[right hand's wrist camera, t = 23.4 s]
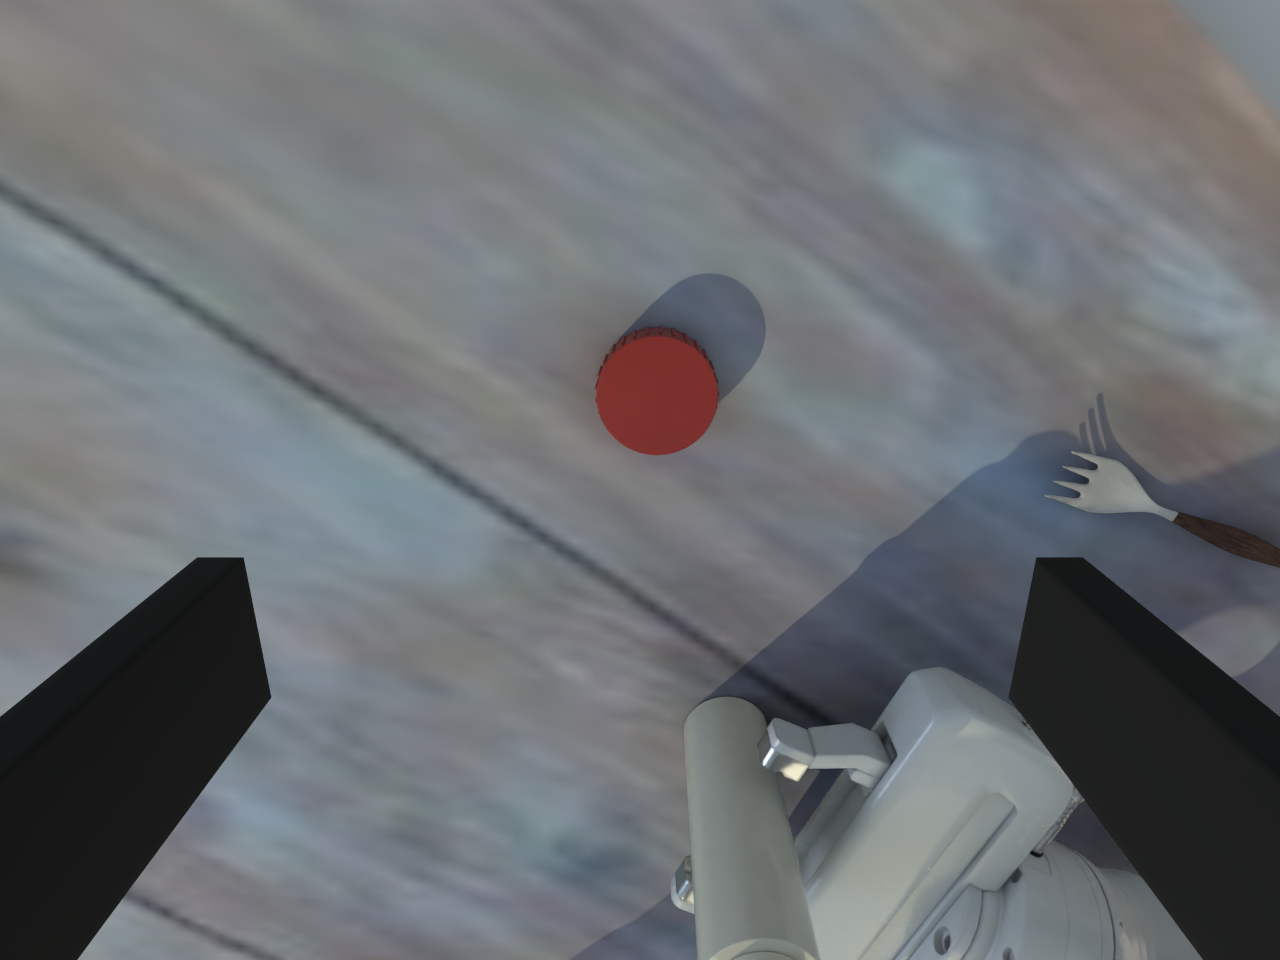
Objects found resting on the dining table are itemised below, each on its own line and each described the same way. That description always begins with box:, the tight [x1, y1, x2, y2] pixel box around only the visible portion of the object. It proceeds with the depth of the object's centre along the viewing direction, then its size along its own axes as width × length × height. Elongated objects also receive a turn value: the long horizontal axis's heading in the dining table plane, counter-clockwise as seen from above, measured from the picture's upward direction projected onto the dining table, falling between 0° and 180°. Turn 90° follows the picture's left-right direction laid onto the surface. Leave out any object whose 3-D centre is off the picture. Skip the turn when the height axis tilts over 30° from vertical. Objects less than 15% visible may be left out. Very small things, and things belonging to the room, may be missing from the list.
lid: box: [595, 326, 719, 455], centre depth 33 cm, size 5×5×2 cm
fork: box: [1045, 451, 1280, 567], centre depth 34 cm, size 3×16×2 cm, turn 69°
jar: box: [683, 697, 821, 960], centre depth 32 cm, size 4×4×16 cm
